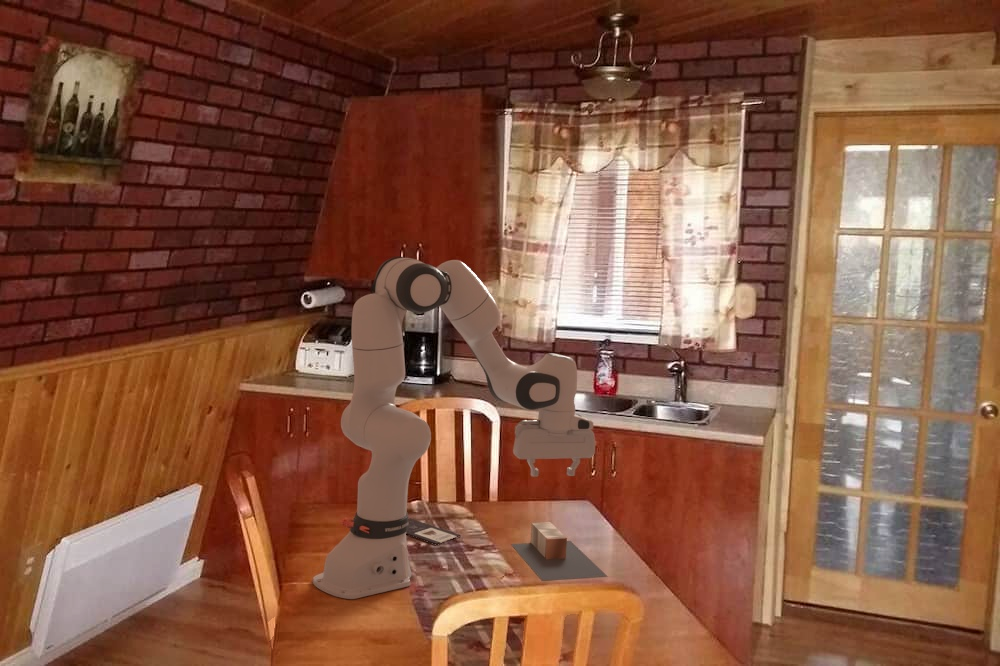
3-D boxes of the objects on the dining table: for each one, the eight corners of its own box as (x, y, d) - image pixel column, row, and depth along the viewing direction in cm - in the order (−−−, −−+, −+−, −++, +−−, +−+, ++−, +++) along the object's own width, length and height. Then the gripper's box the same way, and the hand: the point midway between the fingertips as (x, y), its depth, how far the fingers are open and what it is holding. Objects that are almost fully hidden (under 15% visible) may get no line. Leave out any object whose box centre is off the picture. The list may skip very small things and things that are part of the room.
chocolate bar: (410, 518, 245) (460, 535, 234) (410, 521, 245) (460, 538, 234) (385, 526, 238) (436, 543, 227) (385, 529, 238) (436, 547, 227)
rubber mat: (607, 578, 210) (607, 576, 210) (542, 583, 206) (542, 580, 206) (570, 543, 233) (570, 540, 233) (510, 546, 229) (510, 544, 229)
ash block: (530, 542, 231) (546, 559, 219) (531, 523, 230) (547, 539, 219) (549, 541, 232) (565, 558, 221) (550, 522, 231) (567, 538, 220)
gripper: (519, 423, 215) (516, 480, 217) (599, 422, 221) (595, 478, 223) (511, 417, 221) (508, 473, 223) (589, 417, 227) (586, 471, 229)
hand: (552, 475), depth 223 cm, fingers open, 8 cm apart
